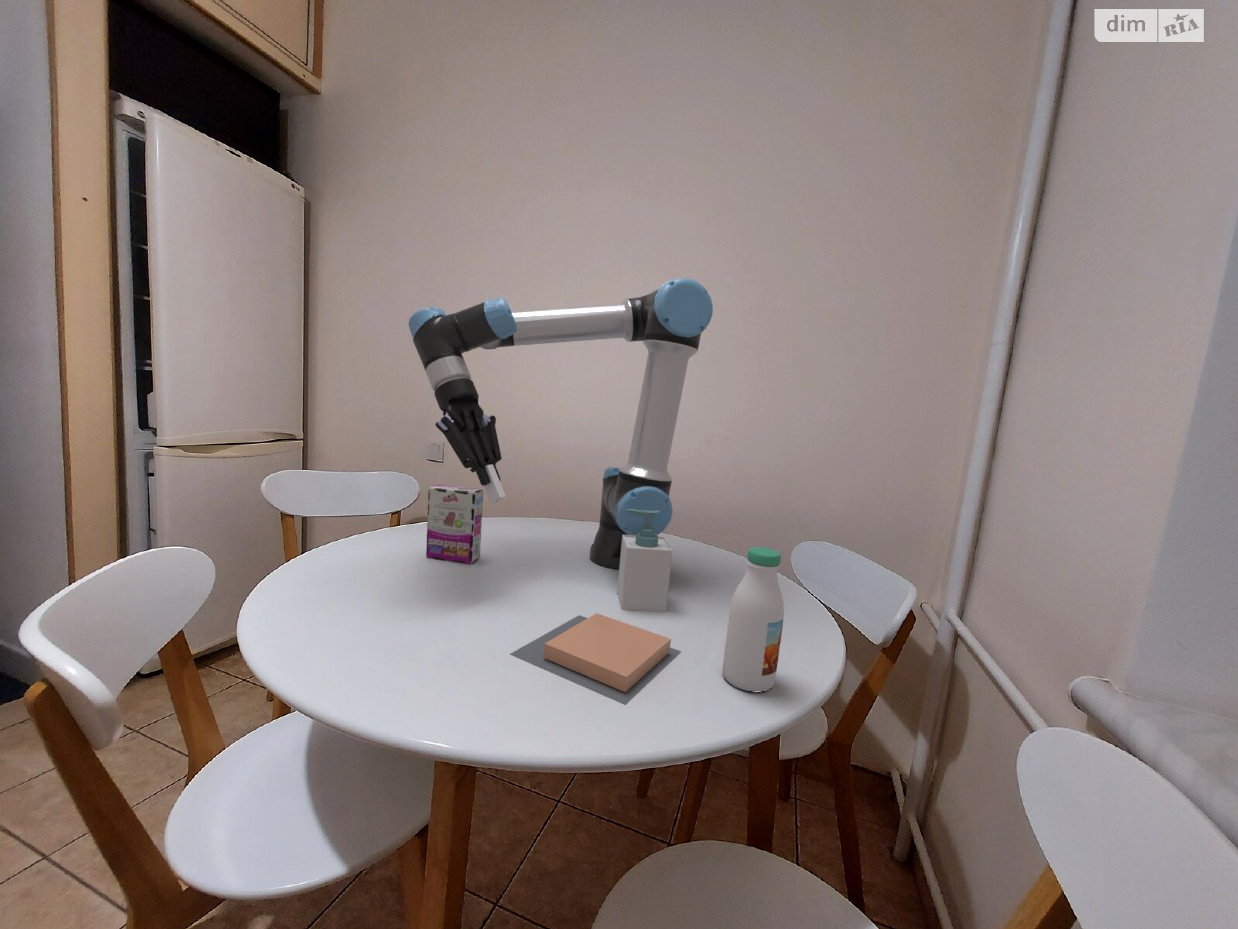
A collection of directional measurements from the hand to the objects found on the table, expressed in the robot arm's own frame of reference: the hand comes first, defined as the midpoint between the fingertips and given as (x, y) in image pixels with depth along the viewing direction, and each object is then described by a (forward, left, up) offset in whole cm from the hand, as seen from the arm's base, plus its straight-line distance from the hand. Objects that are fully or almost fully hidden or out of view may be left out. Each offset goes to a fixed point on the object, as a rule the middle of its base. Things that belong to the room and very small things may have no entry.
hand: (498, 499), depth 94 cm
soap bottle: (-23, +17, -20) cm, 34 cm away
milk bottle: (-17, +45, -20) cm, 52 cm away
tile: (-1, +22, -17) cm, 28 cm away
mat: (-2, +27, -19) cm, 33 cm away
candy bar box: (-5, -25, -20) cm, 32 cm away
